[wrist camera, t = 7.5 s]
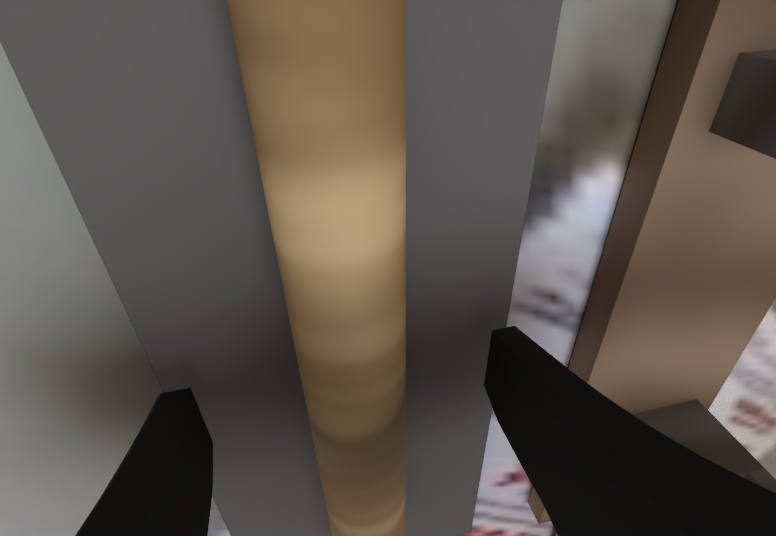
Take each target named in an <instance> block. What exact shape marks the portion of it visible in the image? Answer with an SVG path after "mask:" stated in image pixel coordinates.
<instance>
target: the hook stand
mask: <svg viewBox="0 0 776 536" xmlns="http://www.w3.org/2000/svg"><path fill="white" fill-rule="evenodd" d="M775 298H776V0H679V1H678V4H677V8H676V11H675V14H674V18H673V21H672V24H671V28H670V31H669V34H668V38H667V41H666V44H665V48H664V51H663V54H662V58H661V61H660V64H659V68H658V71H657V74H656V78H655V81H654V84H653V88H652V91H651V94H650V98H649V101H648V104H647V108H646V111H645V114H644V118H643V121H642V124H641V128H640V131H639V134H638V138H637V141H636V144H635V148H634V151H633V154H632V157H631V161H630V164H629V167H628V171H627V174H626V177H625V181H624V184H623V187H622V191H621V194H620V197H619V201H618V204H617V207H616V211H615V214H614V217H613V221H612V224H611V227H610V231H609V234H608V237H607V241H606V244H605V247H604V251H603V254H602V257H601V261H600V264H599V267H598V271H597V274H596V277H595V281H594V284H593V287H592V291H591V294H590V297H589V301H588V304H587V307H586V311H585V314H584V317H583V321H582V324H581V327H580V331H579V334H578V337H577V341H576V344H575V347H574V351H573V354H572V357H571V361H570V364H569V367H568V369H569V370H571V371H572V372H573V373H574V374H576V375H577V376H578V377H580V378H581V379H582V380H584V381H585V382H586V383H588V384H589V385H590V386H592V387H593V388H595V389H596V390H597V391H599V392H600V393H601V394H603V395H604V396H606V397H607V398H609V399H610V400H611V401H613V402H614V403H616V404H617V405H619V406H620V407H622V408H623V409H625V410H626V411H628V412H629V413H631V414H632V415H634V416H635V417H637V418H638V419H640V420H641V421H643V422H644V423H646V424H648V425H649V426H651V427H652V428H654V429H656V430H657V431H659V432H661V433H662V434H664V435H666V436H667V437H669V438H671V439H672V440H674V441H676V442H678V443H679V444H681V445H683V446H684V447H686V448H688V449H690V450H692V451H693V452H695V453H697V454H699V455H701V456H702V457H704V458H706V459H708V460H710V461H712V462H714V463H716V464H718V465H720V466H721V467H723V468H725V469H727V470H729V471H731V472H733V473H735V474H737V475H739V476H741V477H743V478H745V479H747V480H749V481H751V482H753V483H755V484H757V485H759V486H761V487H763V488H766V489H768V490H770V491H772V492H774V493H776V480H775V479H774V478H773V477H772V476H771V474H770V473H769V472H768V471H767V470H766V469H765V468H764V467H763V466H762V465H761V464H760V463H759V462H758V461H757V460H756V459H755V458H754V457H753V456H752V455H751V454H750V453H749V452H748V451H747V450H746V449H745V448H744V447H743V446H742V445H741V444H740V443H739V442H738V441H737V440H736V439H735V438H734V437H733V436H732V435H731V434H730V433H729V431H728V430H727V429H726V428H725V427H724V426H723V425H722V424H721V423H720V422H719V421H718V420H717V419H716V418H715V417H714V416H713V415H712V414H711V413H710V412H709V411H708V409H709V407H710V405H711V404H712V402H713V401H714V399H715V397H716V396H717V394H718V392H719V391H720V389H721V387H722V386H723V384H724V382H725V381H726V379H727V377H728V376H729V374H730V372H731V371H732V369H733V367H734V366H735V364H736V362H737V361H738V359H739V358H740V356H741V354H742V353H743V351H744V349H745V348H746V346H747V344H748V343H749V341H750V339H751V338H752V336H753V334H754V333H755V331H756V329H757V328H758V326H759V324H760V323H761V321H762V320H763V318H764V316H765V315H766V313H767V311H768V310H769V308H770V306H771V305H772V303H773V301H774V300H775ZM528 503H529V505H530V507H531V509H532V511H533V513H534V515H535V517H536V519H537V521H538V523H539V524H541V523H545V522H549V521H551V520H550V518H549V515H548V513H547V511H546V509H545V507H544V505H543V503H542V502H541V500H540V498H539V496H538V494H537V492H536V491H535V489H534V487H532V490H531V494H530V497H529V500H528Z"/></svg>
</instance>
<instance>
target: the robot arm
mask: <svg viewBox="0 0 776 536" xmlns="http://www.w3.org/2000/svg"><path fill="white" fill-rule="evenodd" d="M484 387H485V389H486V392H487V395H488V397H489V400H490V403H491V405H492V408H493V410H494V412H495V415H496V417H497V420H498V422H499V424H500V426H501V428H502V430H503V432H504V434H505V435H506V437H507V439H508V441H509V443H510V445H511V447H512V449H513V450H514V452H515V454H516V456H517V458H518V460H519V461H520V463H521V465H522V467H523V469H524V471H525V472H526V474H527V476H528V478H529V480H530V481H531V483H532V485H533V487H534V489H535V491H536V492H537V494H538V496H539V498H540V500H541V502H542V503H543V505H544V507H545V509H546V511H547V513H548V515H549V518H550V520H551V522H552V524H553V526H554V528H555V531H556V535H555V536H776V493H774V492H772V491H770V490H768V489H766V488H763V487H761V486H759V485H757V484H755V483H753V482H751V481H749V480H747V479H745V478H743V477H741V476H739V475H737V474H735V473H733V472H731V471H729V470H727V469H725V468H723V467H721V466H720V465H718V464H716V463H714V462H712V461H710V460H708V459H706V458H704V457H702V456H701V455H699V454H697V453H695V452H693V451H692V450H690V449H688V448H686V447H684V446H683V445H681V444H679V443H678V442H676V441H674V440H672V439H671V438H669V437H667V436H666V435H664V434H662V433H661V432H659V431H657V430H656V429H654V428H652V427H651V426H649V425H648V424H646V423H644V422H643V421H641V420H640V419H638V418H637V417H635V416H634V415H632V414H631V413H629V412H628V411H626V410H625V409H623V408H622V407H620V406H619V405H617V404H616V403H614V402H613V401H611V400H610V399H609V398H607V397H606V396H604V395H603V394H601V393H600V392H599V391H597V390H596V389H595V388H593V387H592V386H590V385H589V384H588V383H586V382H585V381H584V380H582V379H581V378H580V377H578V376H577V375H576V374H574V373H573V372H572V371H571V370H569V369H568V368H567V367H565V366H564V365H563V364H562V363H560V362H559V361H558V360H556V359H555V358H554V357H553V356H551V355H550V354H549V353H548V352H546V351H545V350H544V349H543V348H541V347H540V346H539V345H538V344H536V343H535V342H534V341H533V340H531V339H530V338H529V337H528V336H526V335H525V334H524V333H523V332H521V331H520V330H519V329H518V328H516V327H515V326H512V327H507V328H502V329H496V330H492V333H491V340H490V347H489V354H488V360H487V367H486V374H485V380H484ZM212 490H213V441H212V439H211V436H210V434H209V431H208V429H207V426H206V424H205V422H204V419H203V417H202V414H201V412H200V409H199V407H198V405H197V402H196V400H195V397H194V395H193V392H192V390H191V388H185V389H180V390H175V391H170V392H164V393H161V394H160V396H159V397H158V398H157V400H156V402H155V404H154V406H153V407H152V409H151V411H150V413H149V415H148V417H147V419H146V420H145V422H144V424H143V426H142V428H141V430H140V431H139V433H138V435H137V437H136V439H135V440H134V442H133V444H132V446H131V447H130V449H129V451H128V453H127V454H126V456H125V458H124V459H123V461H122V463H121V464H120V466H119V468H118V469H117V471H116V473H115V474H114V476H113V478H112V479H111V481H110V483H109V484H108V486H107V488H106V489H105V491H104V493H103V494H102V496H101V497H100V499H99V501H98V502H97V504H96V505H95V507H94V508H93V510H92V511H91V513H90V514H89V516H88V517H87V519H86V520H85V522H84V523H83V525H82V526H81V528H80V529H79V531H78V532H77V534H76V535H75V536H207V533H208V525H209V516H210V508H211V499H212Z"/></svg>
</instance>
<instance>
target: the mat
mask: <svg viewBox="0 0 776 536" xmlns="http://www.w3.org/2000/svg"><path fill="white" fill-rule="evenodd" d="M561 6H562V0H406V441H405V536H459V535H463V534H467V533H470V532H471V527H472V522H473V516H474V510H475V504H476V498H477V493H478V487H479V481H480V475H481V469H482V464H483V458H484V452H485V446H486V440H487V435H488V429H489V423H490V417H491V412H492V405H491V403H490V400H489V397H488V395H487V392H486V389H485V387H484V380H485V374H486V367H487V360H488V354H489V347H490V340H491V333H492V330H496V329H502V328H506V325H507V319H508V313H509V307H510V301H511V296H512V290H513V284H514V278H515V272H516V267H517V261H518V255H519V249H520V243H521V238H522V232H523V226H524V220H525V214H526V209H527V203H528V197H529V191H530V185H531V180H532V174H533V168H534V162H535V156H536V151H537V145H538V139H539V133H540V128H541V122H542V116H543V110H544V104H545V99H546V93H547V87H548V81H549V75H550V70H551V64H552V58H553V52H554V46H555V41H556V35H557V29H558V23H559V17H560V12H561ZM0 42H1V44H2V47H3V49H4V51H5V53H6V55H7V57H8V59H9V62H10V64H11V66H12V68H13V70H14V72H15V74H16V76H17V79H18V81H19V83H20V85H21V87H22V89H23V91H24V94H25V96H26V98H27V100H28V102H29V104H30V106H31V109H32V111H33V113H34V115H35V117H36V119H37V121H38V124H39V126H40V128H41V130H42V132H43V134H44V136H45V139H46V141H47V143H48V145H49V147H50V149H51V151H52V154H53V156H54V158H55V160H56V162H57V164H58V166H59V169H60V171H61V173H62V175H63V177H64V179H65V181H66V184H67V186H68V188H69V190H70V192H71V194H72V196H73V199H74V201H75V203H76V205H77V207H78V209H79V211H80V214H81V216H82V218H83V220H84V222H85V224H86V226H87V228H88V231H89V233H90V235H91V237H92V239H93V241H94V243H95V246H96V248H97V250H98V252H99V254H100V256H101V258H102V261H103V263H104V265H105V267H106V269H107V271H108V273H109V276H110V278H111V280H112V282H113V284H114V286H115V288H116V291H117V293H118V295H119V297H120V299H121V301H122V303H123V306H124V308H125V310H126V312H127V314H128V316H129V318H130V321H131V323H132V325H133V327H134V329H135V331H136V333H137V336H138V338H139V340H140V342H141V344H142V346H143V348H144V351H145V353H146V355H147V357H148V359H149V361H150V363H151V366H152V368H153V370H154V372H155V374H156V376H157V378H158V380H159V383H160V385H161V387H162V389H163V391H164V392H170V391H175V390H180V389H185V388H191V390H192V392H193V395H194V397H195V400H196V402H197V405H198V407H199V409H200V412H201V414H202V417H203V419H204V422H205V424H206V426H207V429H208V431H209V434H210V436H211V439H212V441H213V490H212V496H213V498H214V500H215V503H216V505H217V507H218V509H219V511H220V513H221V515H222V518H223V520H224V522H225V524H226V526H227V528H228V530H229V533H230V535H231V536H332V535H331V530H330V524H329V519H328V514H327V509H326V504H325V499H324V494H323V489H322V484H321V479H320V473H319V468H318V463H317V458H316V453H315V448H314V443H313V438H312V433H311V428H310V422H309V417H308V412H307V407H306V402H305V397H304V392H303V387H302V382H301V377H300V372H299V366H298V361H297V356H296V351H295V346H294V341H293V336H292V331H291V326H290V321H289V315H288V310H287V305H286V300H285V295H284V290H283V285H282V280H281V275H280V270H279V264H278V259H277V254H276V249H275V244H274V239H273V234H272V229H271V224H270V219H269V214H268V208H267V203H266V198H265V193H264V188H263V183H262V178H261V173H260V168H259V163H258V157H257V152H256V147H255V142H254V137H253V132H252V127H251V122H250V117H249V112H248V106H247V101H246V96H245V91H244V86H243V81H242V76H241V71H240V66H239V61H238V56H237V50H236V45H235V40H234V35H233V30H232V25H231V20H230V15H229V10H228V5H227V0H0Z"/></svg>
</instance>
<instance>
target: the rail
mask: <svg viewBox="0 0 776 536" xmlns="http://www.w3.org/2000/svg"><path fill="white" fill-rule="evenodd" d="M227 5H228V10H229V15H230V20H231V25H232V30H233V35H234V40H235V45H236V50H237V56H238V61H239V66H240V71H241V76H242V81H243V86H244V91H245V96H246V101H247V106H248V112H249V117H250V122H251V127H252V132H253V137H254V142H255V147H256V152H257V157H258V163H259V168H260V173H261V178H262V183H263V188H264V193H265V198H266V203H267V208H268V214H269V219H270V224H271V229H272V234H273V239H274V244H275V249H276V254H277V259H278V264H279V270H280V275H281V280H282V285H283V290H284V295H285V300H286V305H287V310H288V315H289V321H290V326H291V331H292V336H293V341H294V346H295V351H296V356H297V361H298V366H299V372H300V377H301V382H302V387H303V392H304V397H305V402H306V407H307V412H308V417H309V422H310V428H311V433H312V438H313V443H314V448H315V453H316V458H317V463H318V468H319V473H320V479H321V484H322V489H323V494H324V499H325V504H326V509H327V514H328V519H329V524H330V530H331V535H332V536H405V441H406V0H227Z"/></svg>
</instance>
